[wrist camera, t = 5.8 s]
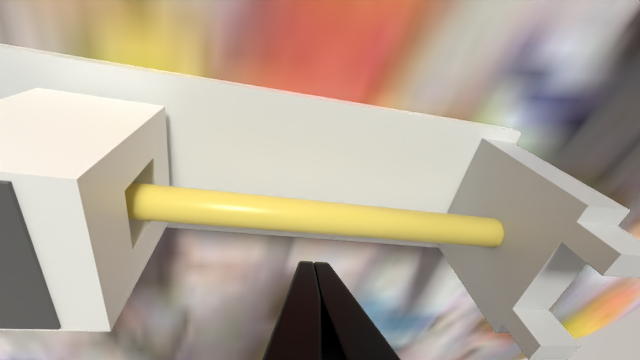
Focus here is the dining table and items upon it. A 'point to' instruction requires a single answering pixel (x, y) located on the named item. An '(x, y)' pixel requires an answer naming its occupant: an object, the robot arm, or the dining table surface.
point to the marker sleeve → (74, 206)
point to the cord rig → (363, 184)
